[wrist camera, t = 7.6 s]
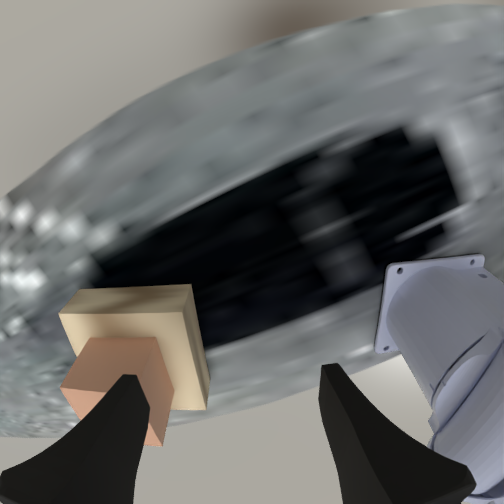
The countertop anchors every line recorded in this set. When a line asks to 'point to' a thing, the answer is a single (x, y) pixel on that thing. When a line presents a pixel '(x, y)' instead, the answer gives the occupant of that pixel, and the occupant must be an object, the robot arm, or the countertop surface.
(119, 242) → the countertop surface
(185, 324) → the birch base
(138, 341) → the terracotta cube
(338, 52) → the countertop surface
